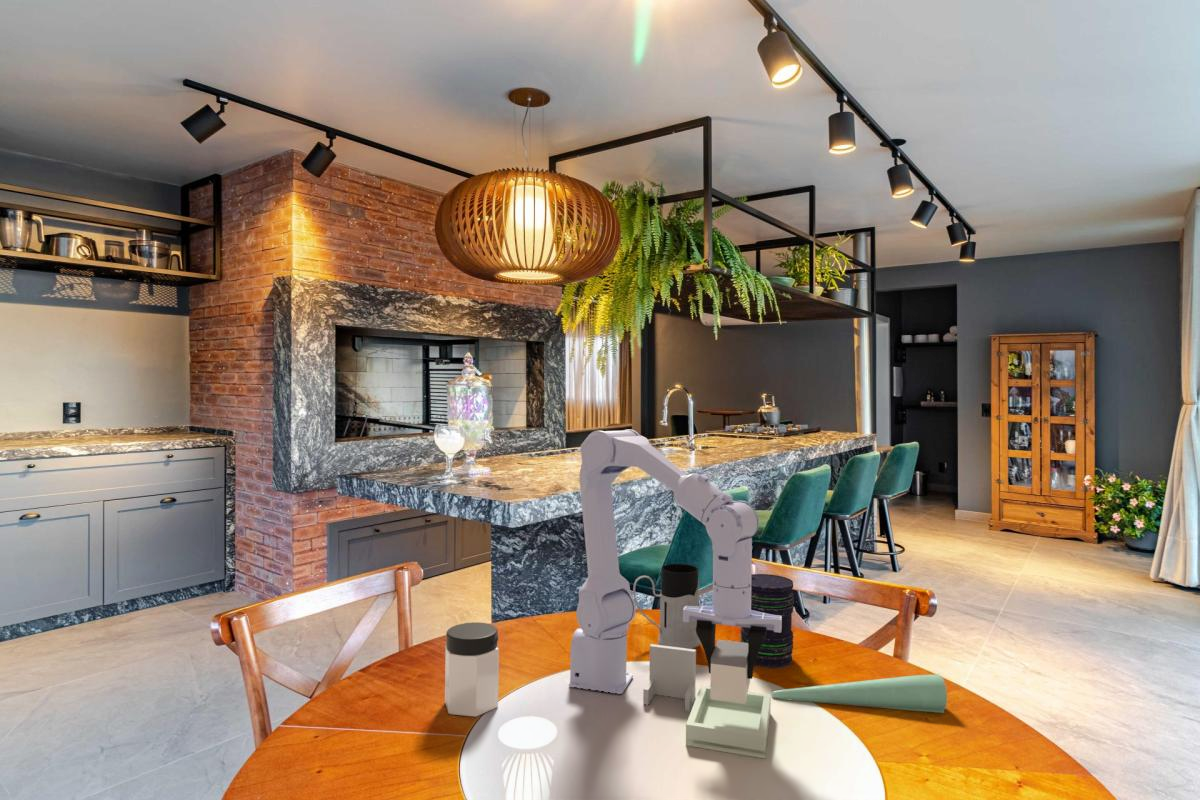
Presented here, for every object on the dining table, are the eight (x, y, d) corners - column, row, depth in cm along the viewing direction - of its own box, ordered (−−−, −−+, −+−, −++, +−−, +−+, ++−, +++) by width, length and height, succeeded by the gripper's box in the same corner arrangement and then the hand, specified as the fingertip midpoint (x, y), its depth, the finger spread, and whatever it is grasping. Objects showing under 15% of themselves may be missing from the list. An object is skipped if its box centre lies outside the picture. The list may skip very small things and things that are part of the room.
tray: (685, 745, 96) (686, 724, 96) (700, 703, 109) (701, 685, 109) (764, 758, 92) (765, 736, 92) (770, 713, 106) (770, 694, 106)
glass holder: (707, 647, 134) (707, 572, 134) (638, 652, 131) (639, 575, 131) (691, 632, 142) (692, 562, 142) (627, 636, 139) (628, 564, 139)
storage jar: (799, 655, 130) (800, 578, 130) (785, 672, 122) (786, 590, 122) (749, 645, 136) (750, 571, 136) (732, 661, 127) (733, 582, 127)
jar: (502, 713, 105) (503, 636, 105) (449, 721, 102) (450, 642, 102) (491, 690, 113) (492, 619, 113) (442, 696, 110) (443, 624, 110)
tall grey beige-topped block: (710, 699, 97) (710, 657, 97) (717, 677, 105) (717, 639, 105) (745, 704, 96) (745, 662, 96) (749, 682, 104) (750, 643, 104)
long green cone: (769, 659, 114) (934, 669, 111) (769, 692, 114) (934, 702, 111) (773, 672, 109) (947, 682, 106) (773, 706, 109) (947, 717, 106)
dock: (643, 704, 108) (643, 655, 108) (650, 691, 113) (651, 644, 113) (689, 711, 106) (690, 661, 106) (695, 697, 111) (695, 649, 111)
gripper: (679, 585, 99) (678, 677, 99) (780, 595, 95) (779, 691, 95) (687, 574, 106) (686, 660, 106) (782, 582, 101) (781, 672, 101)
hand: (730, 673), depth 101 cm, fingers closed on tall grey beige-topped block, 5 cm apart
